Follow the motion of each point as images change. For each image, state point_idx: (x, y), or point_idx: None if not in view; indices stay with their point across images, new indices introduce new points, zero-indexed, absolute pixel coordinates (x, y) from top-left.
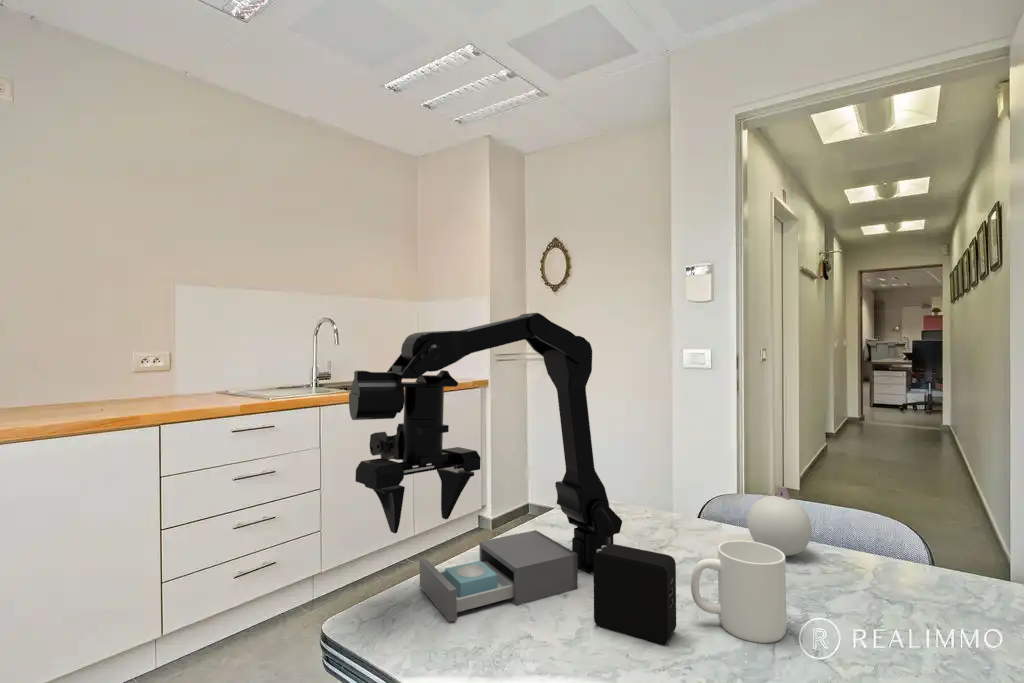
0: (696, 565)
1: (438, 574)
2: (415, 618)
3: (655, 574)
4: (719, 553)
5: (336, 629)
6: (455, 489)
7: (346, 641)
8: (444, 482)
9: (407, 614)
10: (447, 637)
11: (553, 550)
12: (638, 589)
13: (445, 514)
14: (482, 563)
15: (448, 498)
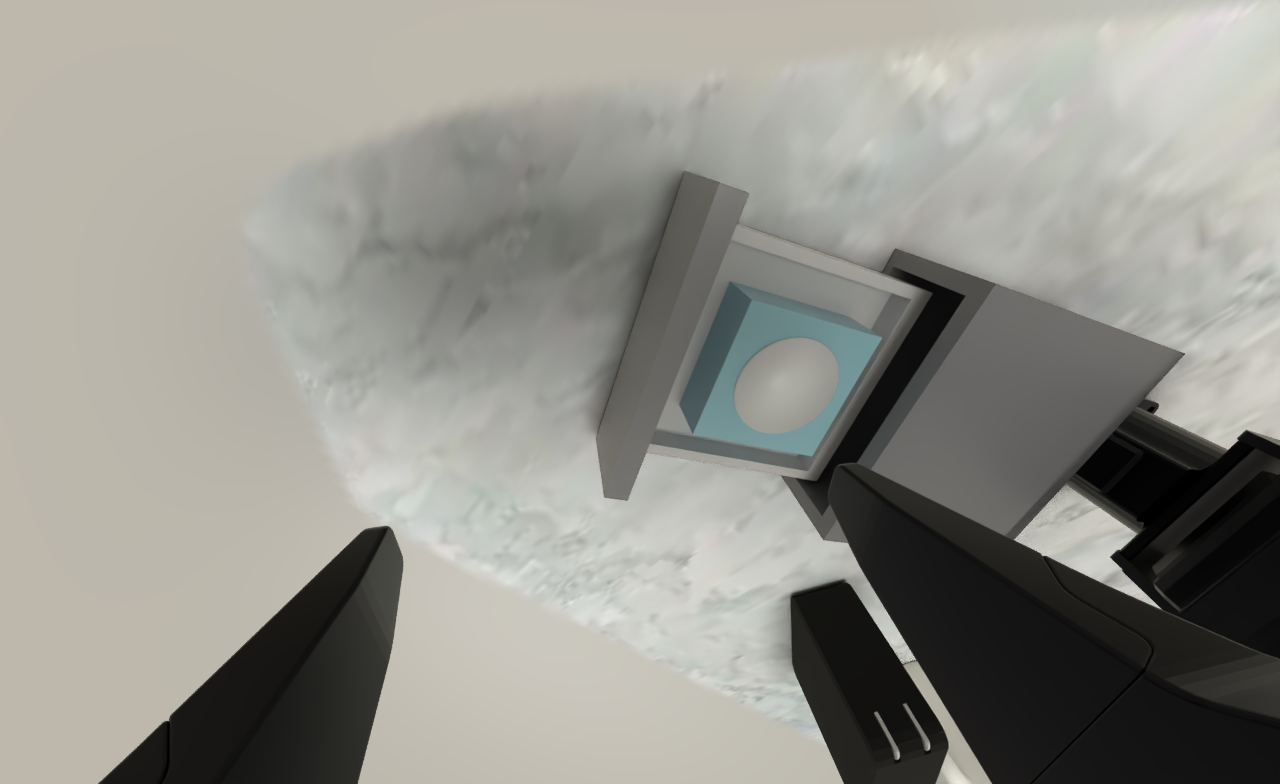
0: (948, 770)
1: (662, 382)
2: (539, 349)
3: None
4: None
5: (263, 222)
6: (996, 774)
7: (283, 321)
8: (1134, 727)
9: (532, 311)
10: (550, 475)
11: (997, 513)
12: (834, 737)
13: (847, 514)
14: (864, 362)
15: (937, 631)
